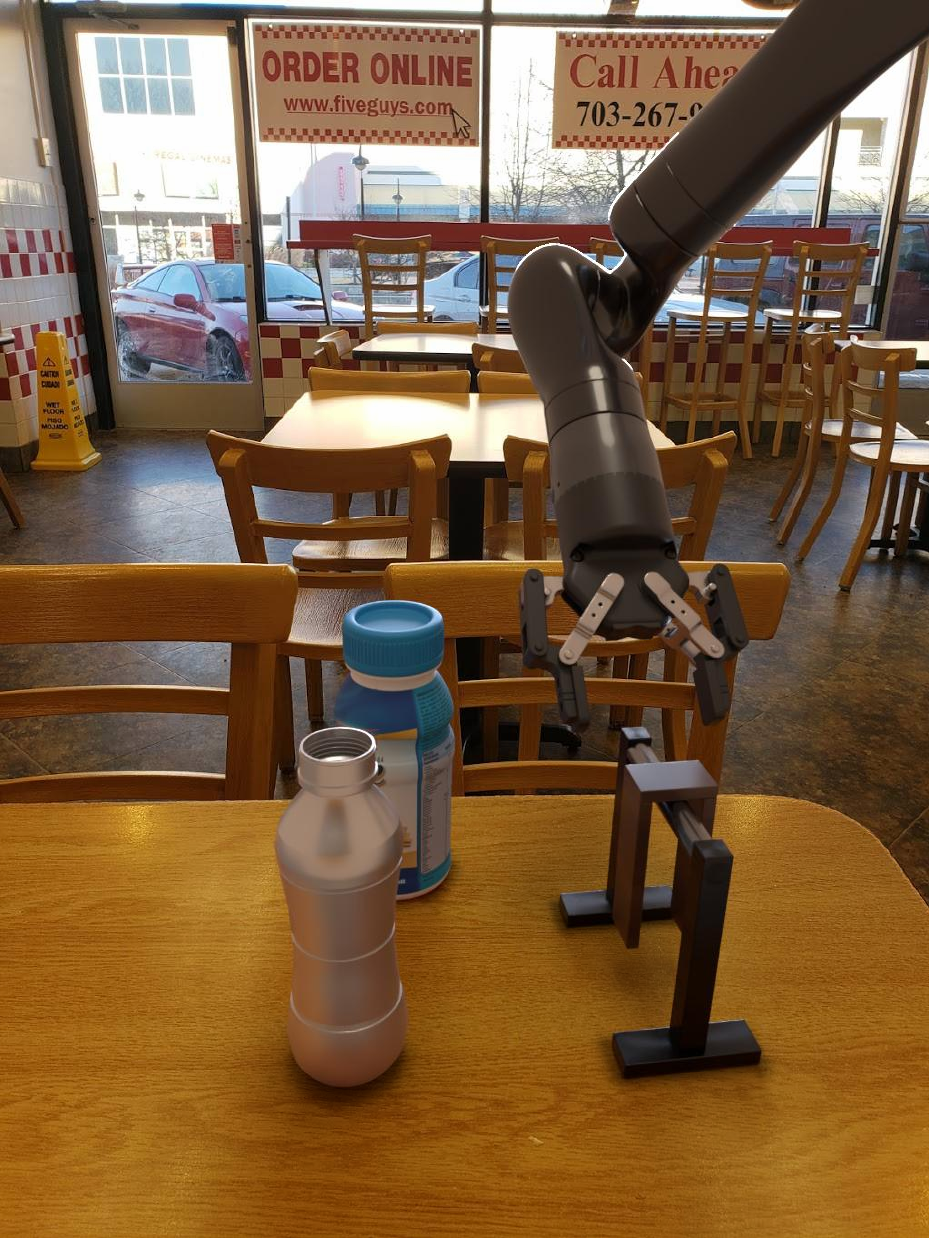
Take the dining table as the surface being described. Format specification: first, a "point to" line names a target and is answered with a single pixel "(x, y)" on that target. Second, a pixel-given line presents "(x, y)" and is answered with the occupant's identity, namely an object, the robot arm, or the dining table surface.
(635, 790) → the two-legged arch bridge
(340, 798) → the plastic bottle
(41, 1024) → the dining table surface
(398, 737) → the beverage bottle
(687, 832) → the rack
